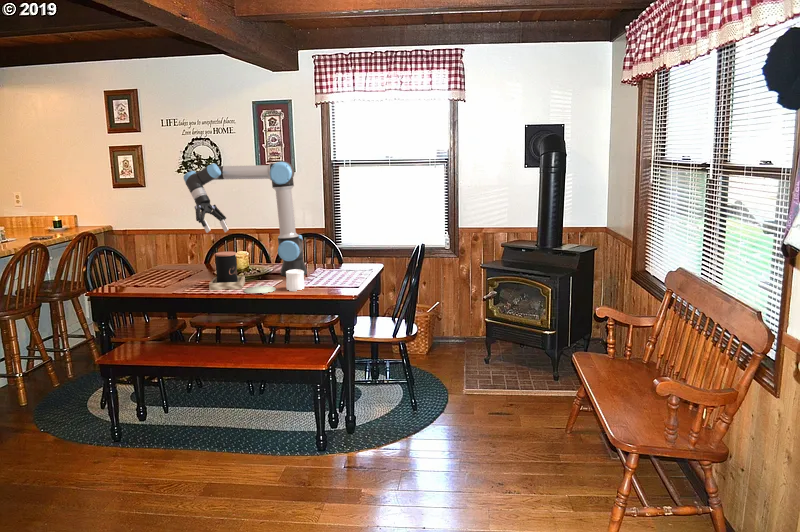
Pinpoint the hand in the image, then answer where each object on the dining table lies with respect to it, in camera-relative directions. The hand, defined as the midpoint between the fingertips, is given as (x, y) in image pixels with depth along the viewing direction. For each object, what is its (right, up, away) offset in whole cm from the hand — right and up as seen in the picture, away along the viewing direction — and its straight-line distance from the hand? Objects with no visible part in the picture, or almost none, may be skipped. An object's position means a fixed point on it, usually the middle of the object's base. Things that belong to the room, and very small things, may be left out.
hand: (217, 231), depth 350 cm
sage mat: (+25, -31, -13) cm, 42 cm away
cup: (+43, -31, -11) cm, 54 cm away
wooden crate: (+6, -29, -1) cm, 30 cm away
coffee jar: (+6, -30, -1) cm, 30 cm away
